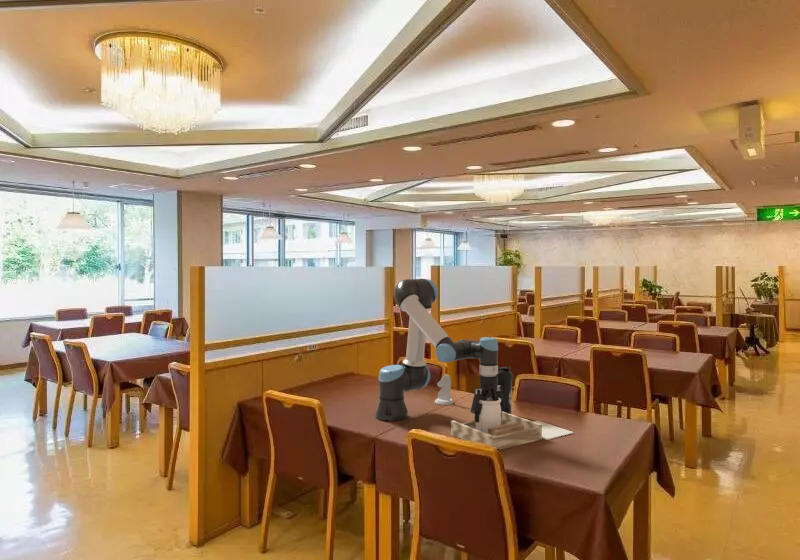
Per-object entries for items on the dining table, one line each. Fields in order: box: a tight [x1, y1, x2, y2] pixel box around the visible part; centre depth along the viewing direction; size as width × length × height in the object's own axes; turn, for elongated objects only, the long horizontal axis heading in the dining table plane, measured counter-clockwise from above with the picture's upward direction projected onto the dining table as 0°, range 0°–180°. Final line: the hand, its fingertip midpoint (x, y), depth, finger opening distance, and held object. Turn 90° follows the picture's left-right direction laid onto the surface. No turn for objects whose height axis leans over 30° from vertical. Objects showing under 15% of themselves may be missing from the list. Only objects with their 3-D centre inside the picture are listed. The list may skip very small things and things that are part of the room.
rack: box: [450, 411, 543, 451], centre depth 216 cm, size 24×28×6 cm
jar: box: [479, 396, 501, 434], centre depth 220 cm, size 11×10×15 cm
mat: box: [533, 420, 575, 441], centre depth 225 cm, size 20×16×1 cm
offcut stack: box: [487, 422, 524, 437], centre depth 212 cm, size 6×18×6 cm, turn 124°
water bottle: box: [496, 366, 514, 414], centre depth 248 cm, size 10×10×23 cm
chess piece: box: [434, 373, 454, 406], centre depth 271 cm, size 10×10×15 cm
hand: (488, 427), depth 220 cm, fingers closed on jar, 10 cm apart
